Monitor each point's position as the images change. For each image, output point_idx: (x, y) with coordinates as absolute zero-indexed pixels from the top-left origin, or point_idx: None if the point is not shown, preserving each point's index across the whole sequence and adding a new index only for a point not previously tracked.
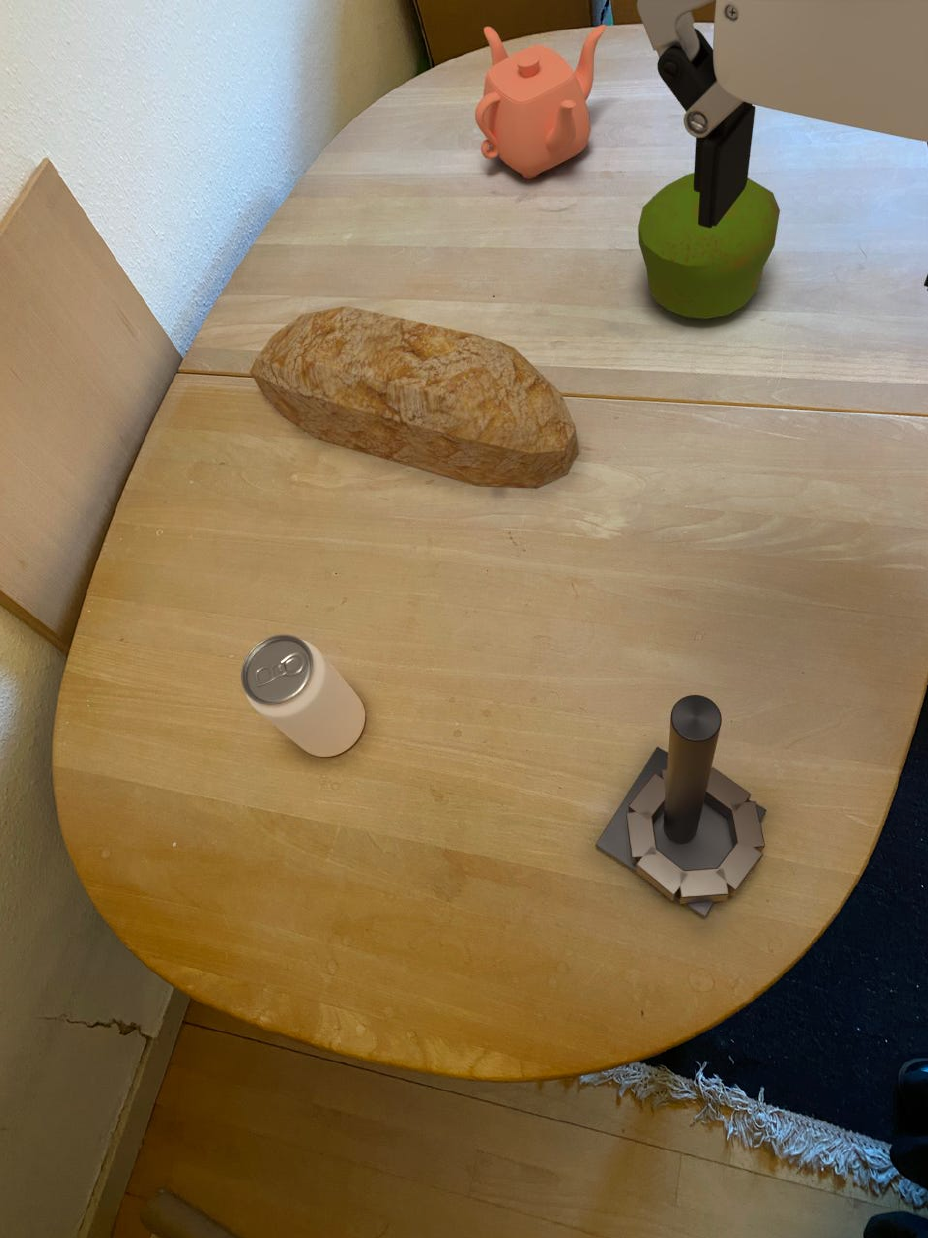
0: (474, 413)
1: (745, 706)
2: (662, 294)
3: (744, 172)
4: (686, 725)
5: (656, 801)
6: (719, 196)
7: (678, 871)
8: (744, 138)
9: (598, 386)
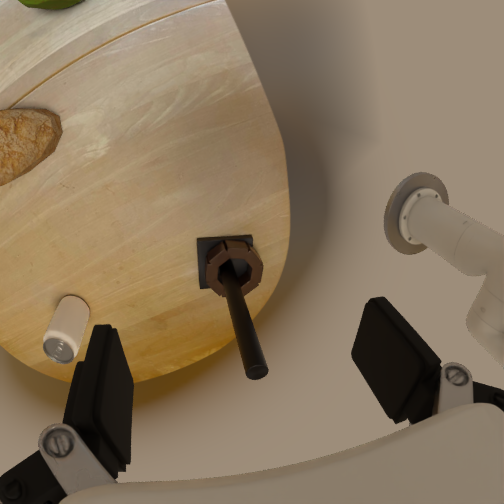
0: (3, 171)
1: (220, 196)
2: (49, 8)
3: (114, 352)
4: (255, 376)
5: (215, 273)
6: (129, 405)
7: None
8: (111, 405)
9: (45, 72)
